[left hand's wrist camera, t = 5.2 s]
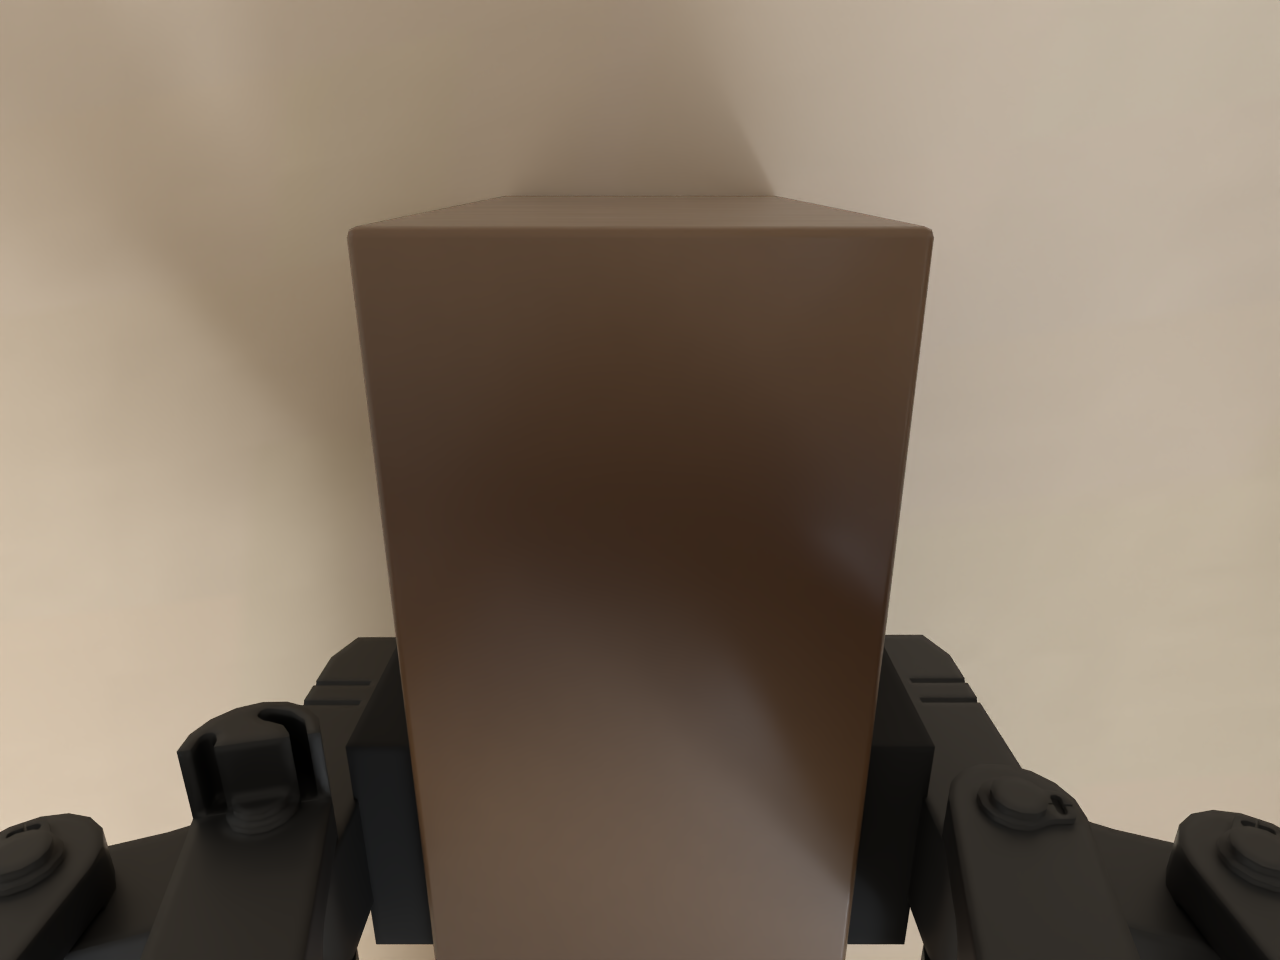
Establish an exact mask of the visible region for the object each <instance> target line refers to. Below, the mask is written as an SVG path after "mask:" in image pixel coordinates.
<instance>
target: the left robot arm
mask: <svg viewBox="0 0 1280 960" xmlns="http://www.w3.org/2000/svg"><path fill="white" fill-rule="evenodd" d="M316 682H317V683H316V686H313V687H312V689H311V690H310V692H309V694H308V695H307V697H306V698H305V700H304V705H297V704H294V703H290V702H262V703H257V704H253V705H249V706H244V707H240V708H236V709H233V710H231V711H229V712H227V713H224V714H222V715H220V716H218V717H215V718H213V719H211V720H209V721H208V722H206V723H205V724H204V725H202V726H201V727H200V728H198V729H197V730H195V731H194V732H193V733H191V734H190V735H189V736H188V737H187V739H186V740H185V741H184V743H183V744H182V745H181V747H180V748H179V749H178V751H177V755H178V759H179V763H180V767H181V771H182V775H183V779H184V783H185V787H186V791H187V795H188V800H189V804H190V808H191V812H192V816H193V821H192V823H191V825H190V826H187V827H184V828H181V829H177V830H174V831H171V832H167V833H163V834H159V835H154V836H150V837H146V838H141V839H137V840H133V841H128V842H124V843H120V844H115V845H111V846H108V845H107V842H106V839H105V835H104V832H103V829H102V827H101V826H99V825H98V824H97V823H96V822H95V821H94V820H93V819H92V818H91V817H86V816H81V815H75V814H70V813H68V814H59V815H51V816H43V817H39V818H36V819H33V820H30V821H26V822H23V823H20V824H17V825H14V826H11V827H9V828H7V829H5V830H3V831H1V832H0V960H359V957H358V951H357V946H358V943H359V941H360V938H361V935H362V932H363V930H364V927H365V924H366V921H367V919H368V916H369V913H370V910H371V914H372V920H373V926H374V933H375V939H376V944H433V936H432V928H431V920H430V911H429V903H428V895H427V887H426V879H425V870H424V862H423V854H422V846H421V838H420V830H419V821H418V813H417V805H416V797H415V789H414V781H413V772H412V764H411V756H410V748H409V740H408V732H407V723H406V715H405V707H404V699H403V691H402V682H401V674H400V666H399V658H398V650H397V642H396V637H358V638H357V639H356V640H354V641H353V642H351V643H350V644H349V645H347V646H346V647H345V648H343V649H342V650H341V651H339V652H338V653H337V654H335V655H334V656H333V657H331V659H330V660H329V662H328V663H327V665H326V667H325V668H324V670H323V671H322V673H321V675H320V676H319V678H318V679H317V681H316ZM910 908H911V911H912V913H913V916H914V919H915V922H916V924H917V927H918V930H919V932H920V935H921V938H922V941H923V943H924V945H923V951H922V957H921V960H1280V828H1279V827H1277V826H1276V825H1274V824H1272V823H1268V822H1265V821H1262V820H1260V819H1256V818H1253V817H1250V816H1247V815H1244V814H1241V813H1233V812H1225V811H1217V810H1210V811H1205V812H1199V813H1194V814H1191V815H1190V816H1189V817H1187V818H1186V819H1185V820H1184V821H1183V822H1182V823H1181V824H1180V825H1179V827H1178V831H1177V834H1176V837H1175V841H1174V843H1171V842H1167V841H1162V840H1158V839H1154V838H1149V837H1145V836H1141V835H1136V834H1132V833H1128V832H1123V831H1119V830H1115V829H1111V828H1108V827H1105V826H1101V825H1098V824H1095V823H1092V822H1089V821H1088V819H1087V817H1086V816H1085V814H1084V812H1083V811H1082V809H1081V808H1080V806H1079V805H1078V803H1077V802H1076V800H1075V799H1074V798H1073V797H1071V796H1070V795H1069V794H1068V793H1067V792H1065V791H1064V790H1063V789H1062V788H1061V787H1059V786H1058V785H1057V784H1056V783H1054V782H1052V781H1050V780H1048V779H1046V778H1044V777H1042V776H1040V775H1038V774H1036V773H1034V772H1032V771H1029V770H1025V769H1022V768H1021V766H1020V765H1019V763H1018V762H1017V760H1016V759H1015V757H1014V755H1013V754H1012V752H1011V751H1010V749H1009V748H1008V746H1007V744H1006V743H1005V741H1004V740H1003V738H1002V737H1001V735H1000V733H999V732H998V730H997V729H996V727H995V726H994V724H993V722H992V721H991V719H990V718H989V716H988V714H987V713H986V711H985V710H984V708H983V707H982V705H981V703H977V697H976V696H975V694H974V692H973V691H972V689H971V688H970V686H969V685H968V683H965V681H964V677H963V675H962V674H961V672H960V670H959V669H958V667H957V666H956V664H955V663H954V661H953V659H952V658H951V656H950V655H949V654H948V653H946V652H945V651H944V650H942V649H941V648H940V647H938V646H937V645H935V644H934V643H933V642H931V641H930V640H929V639H927V638H926V637H925V636H923V635H885V639H884V647H883V656H882V664H881V672H880V680H879V688H878V696H877V705H876V713H875V721H874V729H873V737H872V745H871V753H870V762H869V770H868V778H867V786H866V794H865V802H864V810H863V819H862V827H861V835H860V843H859V851H858V859H857V868H856V876H855V884H854V892H853V900H852V908H851V916H850V925H849V933H848V941H847V944H904V942H905V936H906V930H907V923H908V917H909V910H910Z"/></svg>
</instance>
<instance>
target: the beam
mask: <svg viewBox="0 0 1280 960" xmlns="http://www.w3.org/2000/svg"><path fill="white" fill-rule="evenodd" d="M933 240H934V237H933V233H932V230H931V229H929V228H927V227H925V226H920V225H915V224H910V223H905V222H900V221H895V220H890V219H885V218H880V217H876V216H871V215H866V214H861V213H856V212H851V211H846V210H841V209H836V208H831V207H826V206H821V205H816V204H812V203H807V202H802V201H797V200H792V199H787V198H782V197H777V196H503V197H498V198H493V199H489V200H484V201H479V202H474V203H469V204H464V205H459V206H454V207H449V208H444V209H439V210H435V211H430V212H425V213H420V214H415V215H410V216H405V217H400V218H395V219H390V220H386V221H381V222H376V223H371V224H366V225H361V226H356V227H354V228H352V229H350V230H349V232H348V236H347V241H348V249H349V258H350V266H351V274H352V282H353V290H354V298H355V307H356V315H357V323H358V331H359V339H360V347H361V356H362V364H363V372H364V380H365V388H366V396H367V405H368V413H369V421H370V429H371V437H372V445H373V454H374V462H375V470H376V478H377V486H378V495H379V503H380V511H381V519H382V527H383V535H384V544H385V552H386V560H387V568H388V576H389V584H390V593H391V601H392V609H393V617H394V625H395V633H396V642H397V650H398V658H399V666H400V674H401V682H402V691H403V699H404V707H405V715H406V723H407V732H408V740H409V748H410V756H411V764H412V772H413V781H414V789H415V797H416V805H417V813H418V821H419V830H420V838H421V846H422V854H423V862H424V870H425V879H426V887H427V895H428V903H429V911H430V920H431V928H432V936H433V944H434V952H435V960H845V957H846V949H847V941H848V933H849V925H850V916H851V908H852V900H853V892H854V884H855V876H856V868H857V859H858V851H859V843H860V835H861V827H862V819H863V810H864V802H865V794H866V786H867V778H868V770H869V762H870V753H871V745H872V737H873V729H874V721H875V713H876V705H877V696H878V688H879V680H880V672H881V664H882V656H883V647H884V639H885V631H886V623H887V615H888V607H889V599H890V590H891V582H892V574H893V566H894V558H895V550H896V542H897V533H898V525H899V517H900V509H901V501H902V493H903V484H904V476H905V468H906V460H907V452H908V444H909V436H910V427H911V419H912V411H913V403H914V395H915V387H916V379H917V370H918V362H919V354H920V346H921V338H922V330H923V321H924V313H925V305H926V297H927V289H928V281H929V273H930V264H931V256H932V248H933Z"/></svg>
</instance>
